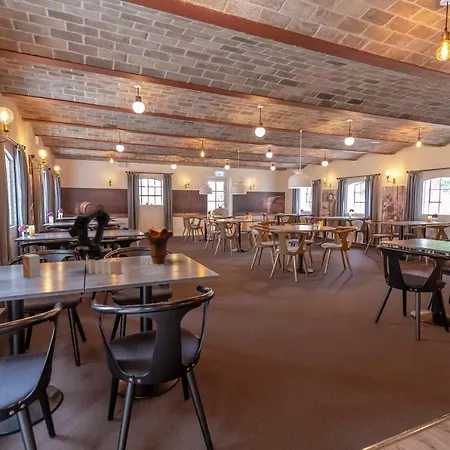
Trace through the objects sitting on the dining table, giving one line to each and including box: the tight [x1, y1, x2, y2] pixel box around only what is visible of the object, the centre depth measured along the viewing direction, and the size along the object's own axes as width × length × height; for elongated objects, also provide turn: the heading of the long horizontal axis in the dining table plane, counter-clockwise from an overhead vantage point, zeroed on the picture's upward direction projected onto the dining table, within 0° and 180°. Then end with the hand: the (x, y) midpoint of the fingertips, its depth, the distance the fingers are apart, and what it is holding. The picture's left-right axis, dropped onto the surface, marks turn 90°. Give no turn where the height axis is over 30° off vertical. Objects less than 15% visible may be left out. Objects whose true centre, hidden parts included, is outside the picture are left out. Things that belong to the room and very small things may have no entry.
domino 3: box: [101, 259, 109, 275], centre depth 201 cm, size 5×2×8 cm, turn 169°
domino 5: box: [114, 259, 122, 276], centre depth 200 cm, size 5×2×8 cm, turn 168°
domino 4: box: [107, 259, 116, 275], centre depth 201 cm, size 5×2×8 cm, turn 169°
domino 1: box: [88, 259, 95, 274], centre depth 203 cm, size 5×2×8 cm, turn 169°
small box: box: [21, 253, 41, 279], centre depth 193 cm, size 8×6×13 cm
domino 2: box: [94, 259, 103, 275], centre depth 202 cm, size 5×2×8 cm, turn 169°
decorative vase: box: [142, 226, 174, 267], centre depth 232 cm, size 21×23×28 cm
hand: (84, 259), depth 204 cm, fingers closed
